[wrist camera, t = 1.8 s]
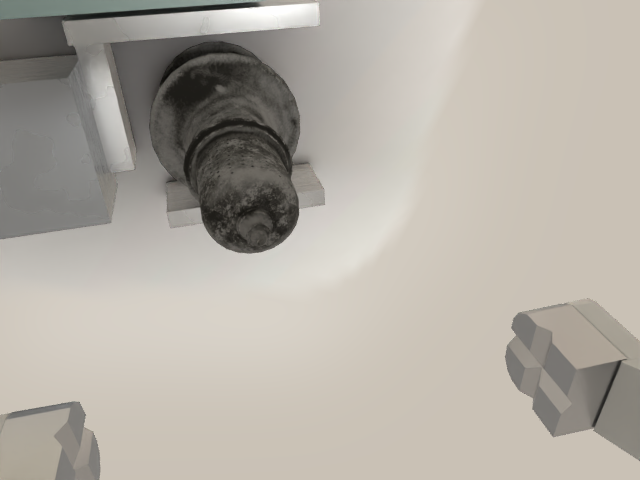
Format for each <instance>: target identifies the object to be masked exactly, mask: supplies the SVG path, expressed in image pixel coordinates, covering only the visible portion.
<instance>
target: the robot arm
mask: <svg viewBox="0 0 640 480" xmlns="http://www.w3.org/2000/svg"><path fill="white" fill-rule="evenodd" d="M512 330H513V331H514V332H515V334H516V336H515V337H514V338H513V339H512V340H511V341H510V342H509V344H508V345H507V350H506V356H505V358H506V364H507V369H508V372H509V375H510V377H511V379H512V381H513V382H514V384H515V385H516V387H517V388H518V390H519V391H521V392H522V393H524V394H526V395H528V396H530V397H532V398H533V410H534V412H535V413H536V414H537V416H538V417H539V418H540V420H541V421H542V423H543V424H544V425H545V427H546V428H547V429H548V430H549V432H550V433H551V435H552V436H553V437H556V436H561V435H566V434H570V433H575V432H579V431H584V430H588V429H593V428H594V431H595V432H596V433H598V434H600V435H601V436H602V437H604V438H606V439H607V440H609V441H610V442H612V443H613V444H615V445H616V446H618V447H619V448H621V449H623V450H624V451H626V452H627V453H629V454H630V455H632V456H633V457H635V458H636V459H638V460H639V461H640V341H639V340H638V339H636V338H635V337H634V336H633V335H632V334H631V333H630V332H629V331H628V330H627V329H626V328H624V327H623V326H622V325H621V324H620V323H619V322H618V321H617V320H616V319H614V318H613V317H612V316H611V315H610V314H609V313H608V312H607V311H606V310H605V309H603V308H602V307H601V306H600V305H599V304H598V303H597V302H595V301H593V300H591V299H588V298H587V299H582V300H577V301H573V302H568V303H564V304H558V305H553V306H548V307H543V308H539V309H534V310H529V311H525V312H520V313H518V314H517V315H516V316H515V317H514V319H513V323H512ZM85 416H86V414H85V412H84V410H83V408H82V406H81V404H80V402H68V403H62V404H57V405H51V406H45V407H39V408H34V409H28V410H22V411H17V412H12V413H9V414H3V415H0V480H99V478H100V453H99V449H98V444H97V440H96V438H95V435H94V433H93V431H90V430H88V429H86V428H85V427H84V422H85Z"/></svg>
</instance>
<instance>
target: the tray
mask: <svg viewBox="0 0 640 480" xmlns="http://www.w3.org/2000/svg"><path fill="white" fill-rule="evenodd" d="M259 1H266V0H0V20H3V19H18V18H32V17H46V16H60V15H74V14H89V13H103V12H117V11H131V10H146V9H160V8H174V7H188V6H202V5H217V4H231V3H245V2H259Z"/></svg>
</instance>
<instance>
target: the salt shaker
mask: <svg viewBox="0 0 640 480" xmlns="http://www.w3.org/2000/svg"><path fill="white" fill-rule="evenodd" d="M149 128H150V134H151V140H152V145H153V148H154V150H155V152H156V154H157V156H158V158H159V160H160V162H161V164H162V165H163V166H164V167H165V168H166V170H167V171H168V172H169V173H170V174H171V175H172V176H173V178H175V179H176V180H178V181H179V182H181V183H182V184H184V185H185V186H187V187H188V189H189V191H190V193H191V195H192V196H193V197H194V198H195V199H196V200H197V201H198V202H199V203H200V210H201V217H202V221H203V223H204V225H205V228H206V230H207V231H208V233H209V234H210V236H211V237H212V238H213V239H214V240H215V241H216V242H217V243H218V244H220V245H221V246H223V247H225V248H226V249H229V250H232V251H235V252H238V253H258V252H263V251H266V250H269V249H272V248H274V247H275V246H277V245H279V244H280V243H282V242H283V241H284V240H285V239H286V238H287V237H288V236H289V235H290V234H291V233H292V231H293V229H294V228H295V226H296V224H297V220H298V216H299V199H298V196H297V193H296V190H295V187H294V185H293V183H292V181H291V176H292V156H293V154H294V153H295V151H296V147H297V143H298V139H299V135H300V115H299V112H298V108H297V105H296V101H295V98H294V96H293V94H292V93H291V91H290V89H289V88H288V86H287V84H286V83H285V81H284V80H283V79H282V78H281V77H280V76H279V75H278V74H277V73H276V72H274V71H273V70H272V69H271V68H270V67H269V66H267V65H265V64H263V63H262V62H261V61H260V60H259V59H258V58H257V57H256V56H255V55H254V54H253V53H251V52H249V51H247V50H245V49H244V48H242V47H240V46H238V45H234V44H229V43H225V42H205V43H202V44H199V45H196V46H193V47H190V48H188V49H187V50H186V51H184V52H183V53H181V54H180V55H178V56H177V57H176V58H175V59H174V60H173V62H172V63H171V64H170V65H169V66H168V68H167V69H166V71H165V73H164V76H163V78H162V80H161V83H160V88H159V90H158V92H157V94H156V97H155V99H154V102H153V104H152V106H151V115H150V124H149Z"/></svg>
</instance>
